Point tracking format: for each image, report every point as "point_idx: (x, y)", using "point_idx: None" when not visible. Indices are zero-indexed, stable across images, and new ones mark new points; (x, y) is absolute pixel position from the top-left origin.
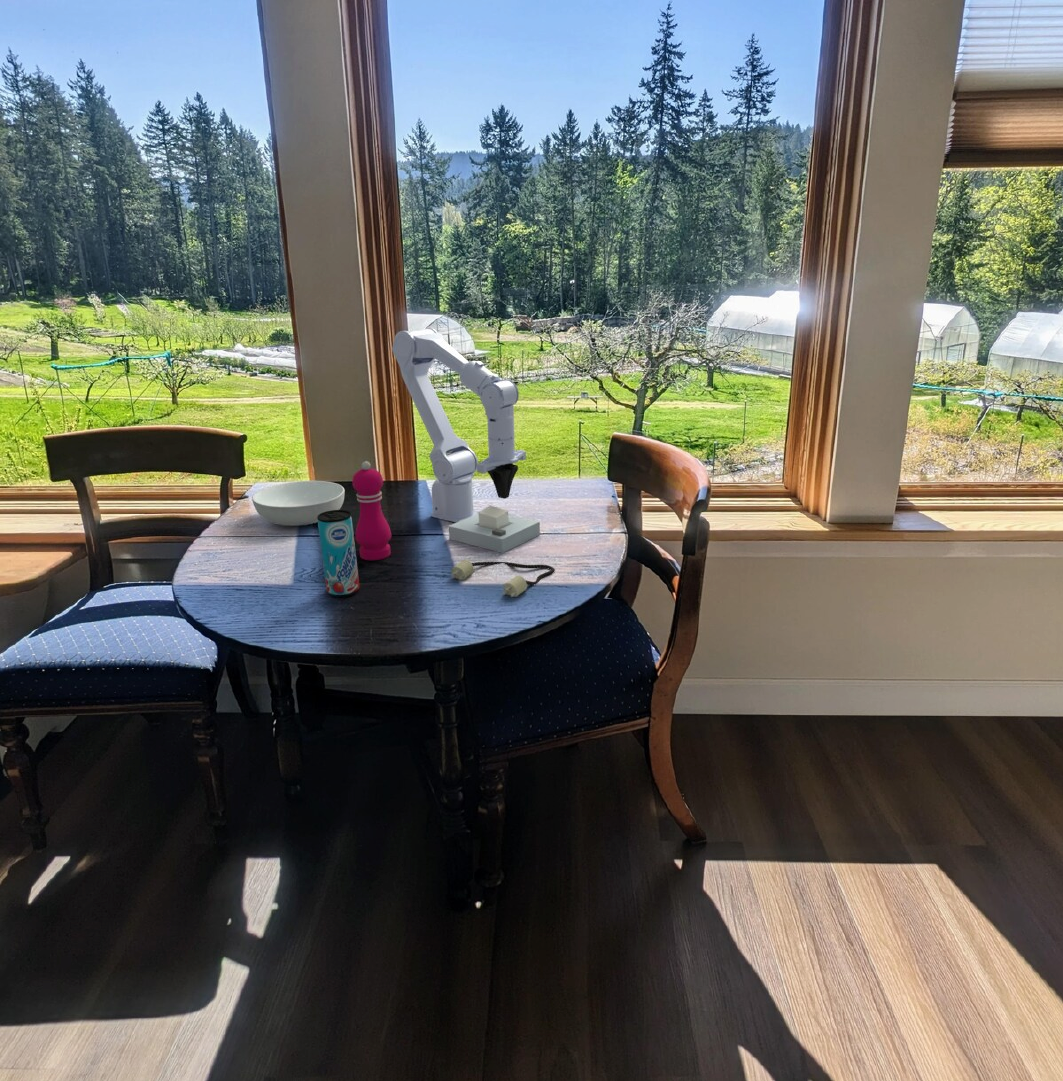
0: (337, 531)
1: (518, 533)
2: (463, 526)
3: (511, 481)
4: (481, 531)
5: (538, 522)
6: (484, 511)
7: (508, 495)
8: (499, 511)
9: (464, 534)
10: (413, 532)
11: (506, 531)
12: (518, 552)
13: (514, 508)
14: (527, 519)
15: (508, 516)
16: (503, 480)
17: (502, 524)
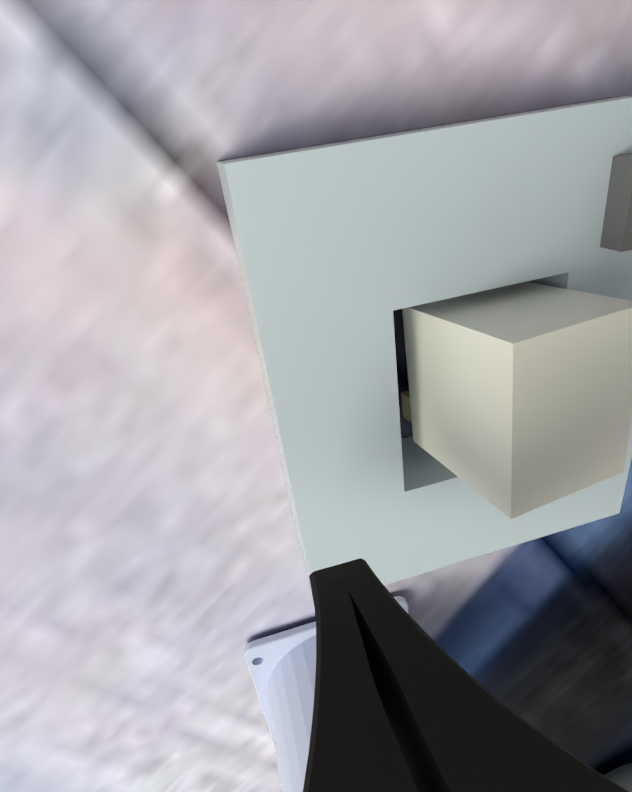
0: None
1: (517, 115)
2: None
3: (338, 720)
4: None
5: (242, 161)
6: (597, 458)
7: (323, 581)
8: (552, 384)
9: None
10: (568, 601)
11: (565, 199)
12: (575, 3)
13: (27, 646)
14: (263, 295)
15: (313, 444)
16: (525, 723)
17: (514, 305)
